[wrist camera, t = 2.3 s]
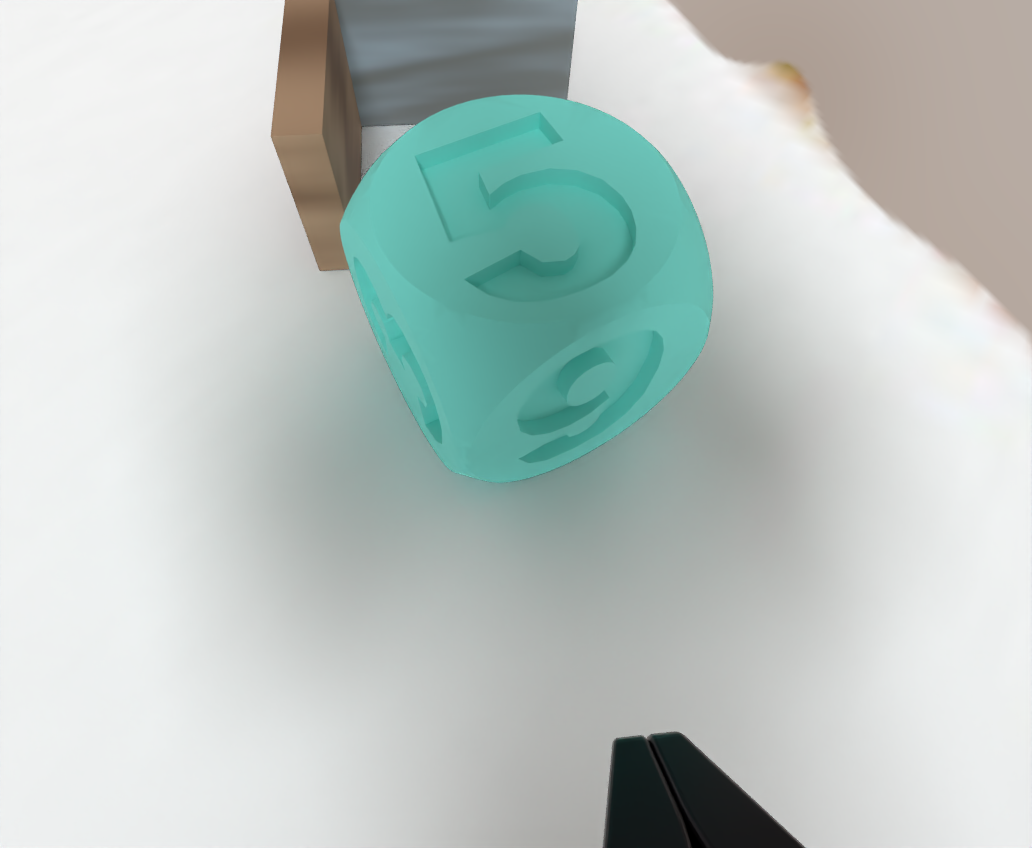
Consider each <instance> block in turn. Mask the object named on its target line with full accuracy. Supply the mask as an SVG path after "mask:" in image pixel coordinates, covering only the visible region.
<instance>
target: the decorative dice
mask: <svg viewBox="0 0 1032 848" xmlns="http://www.w3.org/2000/svg"><path fill="white" fill-rule="evenodd" d="M340 235H341V241H342V245H343V249H344V253H345V256H346V260H347V263H348V266H349V269H350V272H351V275H352V278H353V281H354V284H355V287H356V290H357V292H358V295H359V298H360V300H361V303H362V305H363V308H364V310H365V313H366V315H367V318H368V320H369V323H370V325H371V328H372V330H373V332H374V335H375V337H376V339H377V342H378V344H379V346H380V348H381V351H382V353H383V355H384V357H385V359H386V362H387V364H388V366H389V368H390V370H391V372H392V374H393V376H394V378H395V381H396V383H397V385H398V387H399V389H400V391H401V393H402V395H403V397H404V399H405V401H406V402H407V404H408V406H409V408H410V410H411V412H412V414H413V416H414V417H415V419H416V421H417V423H418V425H419V426H420V428H421V430H422V432H423V433H424V435H425V437H426V438H427V440H428V442H429V443H430V445H431V446H432V448H433V449H434V451H435V452H436V454H437V455H438V457H439V458H440V459H441V461H442V462H443V463H444V464H445V466H446V467H447V468H448V469H449V470H451V471H452V472H455V473H458V474H462V475H465V476H468V477H472V478H475V479H479V480H484V481H488V482H496V483H503V482H513V481H518V480H523V479H527V478H531V477H534V476H537V475H540V474H543V473H546V472H549V471H551V470H554V469H556V468H559V467H561V466H563V465H565V464H567V463H569V462H571V461H574V460H576V459H578V458H579V457H581V456H583V455H585V454H587V453H589V452H590V451H592V450H594V449H596V448H597V447H599V446H601V445H602V444H604V443H606V442H607V441H609V440H610V439H612V438H613V437H615V436H616V435H618V434H619V433H621V432H622V431H624V430H625V429H626V428H628V427H629V426H630V425H632V424H633V423H634V422H636V421H637V420H638V419H640V418H641V417H642V416H643V415H645V414H646V413H647V412H648V411H649V410H651V409H652V408H653V407H654V406H655V405H656V404H657V403H658V402H660V401H661V400H662V399H663V398H664V397H665V396H666V395H667V394H668V393H669V392H670V391H671V390H672V389H673V388H674V387H675V386H676V385H677V383H678V382H679V381H680V380H681V379H682V378H683V377H684V375H685V374H686V373H687V372H688V370H689V369H690V368H691V366H692V365H693V364H694V362H695V361H696V359H697V358H698V356H699V354H700V352H701V351H702V349H703V347H704V344H705V342H706V339H707V336H708V331H709V326H710V320H711V314H712V305H713V282H712V272H711V265H710V259H709V254H708V249H707V245H706V241H705V238H704V234H703V231H702V228H701V225H700V222H699V219H698V217H697V214H696V212H695V209H694V207H693V205H692V202H691V200H690V198H689V196H688V194H687V192H686V190H685V188H684V187H683V185H682V183H681V181H680V180H679V178H678V176H677V175H676V173H675V172H674V170H673V169H672V167H671V166H670V165H669V163H668V162H667V161H666V159H665V158H664V157H663V156H662V155H661V154H660V152H659V151H658V150H657V149H656V148H655V147H654V146H653V145H652V144H650V143H649V142H648V141H647V140H646V139H645V138H644V137H642V136H641V135H640V134H639V133H638V132H636V131H635V130H634V129H632V128H631V127H629V126H628V125H626V124H625V123H623V122H622V121H620V120H618V119H616V118H615V117H613V116H611V115H609V114H607V113H604V112H602V111H600V110H598V109H595V108H592V107H590V106H587V105H584V104H581V103H577V102H573V101H570V100H565V99H561V98H555V97H548V96H539V95H501V96H493V97H485V98H481V99H476V100H471V101H468V102H464V103H461V104H457V105H455V106H452V107H449V108H447V109H444V110H442V111H440V112H438V113H436V114H434V115H431V116H430V117H428V118H426V119H425V120H423V121H421V122H420V123H418V124H417V125H415V126H414V127H413V128H411V129H410V130H409V131H407V132H406V133H405V134H404V135H403V136H401V137H400V138H399V139H398V140H397V141H396V142H394V143H393V144H392V145H391V146H390V147H389V148H388V149H387V150H386V151H384V152H383V153H382V154H381V155H380V157H379V158H378V159H377V160H376V161H375V162H374V164H373V165H372V166H371V167H370V169H369V170H368V172H367V173H366V174H365V176H364V177H363V179H362V180H361V182H360V184H359V185H358V187H357V189H356V190H355V192H354V194H353V195H352V197H351V199H350V201H349V203H348V205H347V208H346V210H345V212H344V215H343V217H342V220H341V222H340Z"/></svg>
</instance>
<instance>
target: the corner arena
mask: <svg viewBox="0 0 1032 848" xmlns="http://www.w3.org/2000/svg"><path fill="white" fill-rule="evenodd" d="M577 2H578V0H285V6H284V16H283V25H282V35H281V44H280V54H279V63H278V73H277V82H276V92H275V101H274V111H273V120H272V130H271V138H272V141H273V144H274V146H275V149H276V152H277V155H278V157H279V160H280V163H281V166H282V168H283V171H284V174H285V177H286V179H287V182H288V185H289V188H290V190H291V193H292V196H293V199H294V201H295V204H296V207H297V210H298V212H299V215H300V218H301V221H302V223H303V226H304V229H305V232H306V234H307V237H308V240H309V243H310V245H311V248H312V251H313V254H314V256H315V259H316V262H317V265H318V267H319V270H320V271H327V270H344V269H349V266H348V263H347V260H346V256H345V253H344V249H343V245H342V241H341V235H340V222H341V220H342V217H343V215H344V212H345V210H346V208H347V205H348V203H349V201H350V199H351V197H352V195H353V194H354V192H355V190H356V189H357V187H358V185H359V184H360V182H361V130H362V126H381V125H403V124H418V123H420V122H421V121H423V120H425V119H426V118H428V117H430V116H431V115H434V114H436V113H438V112H440V111H442V110H444V109H447V108H449V107H452V106H455V105H457V104H461V103H464V102H468V101H471V100H476V99H481V98H485V97H493V96H501V95H539V96H548V97H555V98H561V99H565V100H567V95H568V86H569V77H570V67H571V58H572V49H573V39H574V30H575V21H576V11H577Z"/></svg>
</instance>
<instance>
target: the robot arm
mask: <svg viewBox="0 0 1032 848" xmlns="http://www.w3.org/2000/svg"><path fill="white" fill-rule="evenodd" d="M603 848H805V847H804V846H803V845H802V844H801V843H800V842H799V841H798V840H797V839H796V838H794V837H793V836H792V835H791V834H790V833H789V832H788V831H787V830H786V829H785V828H784V827H783V826H782V825H780V824H779V823H778V822H777V821H776V820H775V819H774V818H773V817H772V816H771V815H770V814H769V813H768V812H766V811H765V810H764V809H763V808H762V807H761V806H760V805H759V804H758V803H757V802H756V801H755V800H753V799H752V798H751V797H750V796H749V795H748V794H747V793H746V792H745V791H744V790H743V789H742V788H741V787H739V786H738V785H737V784H736V783H735V782H734V781H733V780H732V779H731V778H730V777H729V776H728V775H726V774H725V773H724V772H723V771H722V770H721V769H720V768H719V767H718V766H717V765H716V764H715V763H714V762H712V761H711V760H710V759H709V758H708V757H707V756H706V755H705V754H704V753H703V752H702V751H701V750H700V749H698V748H697V747H696V746H695V745H694V744H693V743H692V742H691V741H690V740H689V739H688V738H687V737H685V736H684V735H683V734H681V733H679V732H666V733H657V734H651V735H649V736H648V737H647V738H645V737H644V736H642V735H639V736H630V737H621V738H616V739H615V740H614V741H613V745H612V755H611V765H610V776H609V787H608V797H607V808H606V819H605V829H604V840H603Z"/></svg>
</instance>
